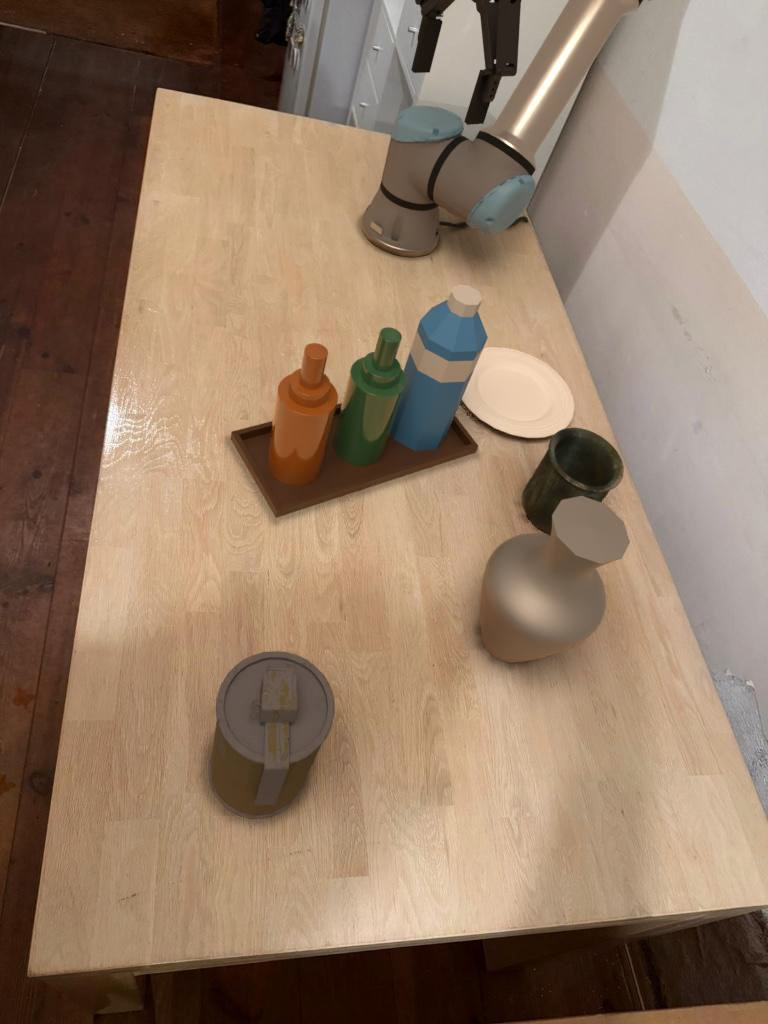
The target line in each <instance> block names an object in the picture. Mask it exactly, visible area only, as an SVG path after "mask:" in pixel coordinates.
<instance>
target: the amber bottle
mask: <svg viewBox="0 0 768 1024" xmlns="http://www.w3.org/2000/svg"><path fill="white" fill-rule="evenodd" d="M303 351H304V352H303V357H302V363H301V367H300V368H297V369H296V370H294V371H293V372H292V373H290V374H287V375H286V376H284V377H283V378H282V379H281V380H280V382H279V383H278V385H277V391H276V398H275V404H274V410H273V418H272V421H273V423H272V430H271V436H270V443H269V449H268V456H267V467H268V470H269V472H270V473H271V475H272V476H273V477H274V478H275V479H277V480H278V481H280V482H282V483H284V484H287V485H292V486H302V485H307V484H309V483H311V482H313V481H314V480H315V479H316V478H317V477H318V476H319V474H320V471H321V467H322V463H323V459H324V455H325V451H326V447H327V443H328V439H329V435H330V431H331V426H332V422H333V418H334V414H335V410H336V406H337V404H338V401H339V394H338V391H337V389H336V387H335V385H334V384H333V383H332V382H331V380H330V379H329V376H328V375H326V374H325V371H326V366H327V361H328V356H329V350H328V349H327V347H326V346H324V345H323V344H322V343H318V342H312V343H307V345H305V347H304V350H303Z"/></svg>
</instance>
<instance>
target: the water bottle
mask: <svg viewBox="0 0 768 1024" xmlns="http://www.w3.org/2000/svg"><path fill="white" fill-rule="evenodd" d="M482 302H483V297H482V295H481V293H480V291H479V290H478V289H475V288H474V287H472V286H470V285H468V284H460V285H459V284H456V285H455V286H454V287H453V288H452V289H451V290H450V293H449V295H448V299H446V300H444V301H442V302H440V303H438V304H436V305H434V306H432V307H430V308H429V310H428V311H427V312H426V313H425V314H424V315H423V317H421V319H419V322H418V325H417V327H416V328H417V329H416V332H415V335H414V337H413V341H412V344H411V347H410V351H409V353H408V357H407V358H406V362H405V365H404V369H403V371H404V373H405V375H406V379H407V384H406V387H405V390H404V393H403V396H402V399H401V402H400V405H399V408H398V411H397V414H396V417H395V420H394V423H393V426H392V429H391V433H392V436H393V438H394V440H396V441H398V442H400V443H401V444H403V445H405V446H407V447H408V448H410V449H412V450H414V451H420V450H432V449H437V448H438V446H439V445H440V443H441V442H442V441H443V439H444V438H445V436H446V435H447V432H448V430H449V428H450V425H451V423H452V421H453V418H454V416H456V414H457V411H458V409H459V406H460V405H461V402H462V400H461V399H462V397H463V395H464V392H465V390H466V388H467V385H468V383H469V381H470V378H471V376H472V374H473V371H474V369H475V367H476V364H477V362H478V360H479V357H480V355H481V352H482V350H483V348H485V346H486V343H487V340H488V338H489V336H488V334H487V332H486V329H485V326H484V324H483V321H482V318H481V316H480V313H479V310H480V306H481V304H482Z"/></svg>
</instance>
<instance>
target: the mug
mask: <svg viewBox="0 0 768 1024" xmlns="http://www.w3.org/2000/svg"><path fill="white" fill-rule="evenodd" d="M624 473H625V469H624V463H623V460H622V457H621V456H620V454H619V452H618V451H617V449H616V448H615V447H614V446H613V445H612V443H610V442H609V441H608V440H607V439H606V438H604V437H603V436H601V435H599V434H598V433H596V432H594V431H591V430H589V429H585V428H582V427H566V428H565V429H562V430H560V431H558V432H557V433H555V434H554V435H553V436H551V438H550V440H549V442H548V448H547V451H546V452H545V454H544V455H543V457H542V459H541V460H540V462H539V464H538V466H537V467H536V468H535V471H534V472H533V473H532V475H531V477H530V479H529V480H528V482H527V484H526V485H525V487H524V488H523V491H522V494H521V502H522V503H521V504H522V508H523V510H524V512H525V514H526V516H527V518H528V520H529V521H530V522H531V523H532V524H533V525H534V526H535V527H536V528H537V529H539V530H540V531H542V532H544V533H547V534H548V535H551V531H552V515H553V513H554V511H555V510H556V508H557V507H558V505H559V503H560V502H561V500H564V499H569V498H574V497H579V496H584V497H587V498H590V499H592V500H595V501H598V502H601V503H603V501H604V499H605V498H606V497H607V495H608V494H609V493H610V491H612V490H613V489H616V488H617V487H618V486H619V485H620V484H621V482H622V480H623V477H624Z"/></svg>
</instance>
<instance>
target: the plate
mask: <svg viewBox="0 0 768 1024" xmlns="http://www.w3.org/2000/svg"><path fill="white" fill-rule="evenodd" d="M461 402H462V403H463V404H464V406H465V407H466V408H467V410H468V411H469V412H470V413H472V414H473V415H474V416H475V417H476V418H477V419H478V420H479V421H480V422H483V423H484V424H485V425H487V426H489V427H490V428H491V429H494V430H497V431H499V432H500V433H501V432H502V433H504V434H507V435H508V436H514V437H518V438H524V439H545V438H548V437H552V436H553V435H554V434H555V433H557V432H558V431H560V430H562V429H565V428H568V426H569V425H570V423H571V422H572V420H573V419H574V416H575V415H574V414H575V410H576V406H575V400H574V395H573V393H572V391H571V390H570V387H569V385H568V384H567V382H566V381H565V379H563V378H562V376H561V375H560V374H559V373H558V372H557V371H556V370H555V369H553V367H551V366H550V365H549V364H548V363H546V362H544V361H542V360H541V359H539V358H537V357H536V356H534V355H532V354H529V353H526V352H524V351H522V350H517V349H514V348H508V347H502V346H501V347H500V346H499V347H497V346H488V347H484V348H483V350H482V352H481V355H480V357H479V360H478V362H477V364H476V367H475V369H474V371H473V374H472V376H471V378H470V381H469V383H468V385H467V388H466V390H465V392H464V395H463V397H462V399H461Z"/></svg>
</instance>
